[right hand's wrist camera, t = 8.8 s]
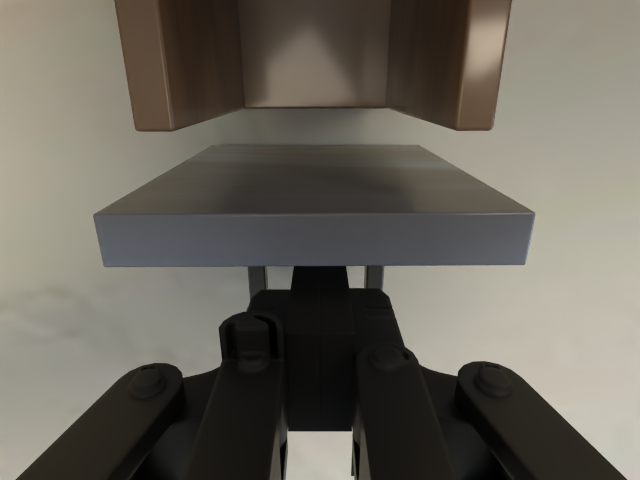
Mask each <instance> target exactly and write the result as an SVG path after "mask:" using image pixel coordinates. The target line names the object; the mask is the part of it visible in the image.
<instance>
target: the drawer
mask: <svg viewBox="0 0 640 480" xmlns="http://www.w3.org/2000/svg"><path fill="white" fill-rule="evenodd" d="M114 1H115V7H116V13H117V19H118V26H119V32H120V38H121V44H122V50H123V57H124V63H125V69H126V75H127V81H128V87H129V94H130V100H131V106H132V112H133V118H134V125H135V129H136V130H137V131H139V132H156V131H175V130H178V129H182V128H185V127H188V126H191V125H194V124H197V123H200V122H203V121H206V120H210V119H213V118H216V117H219V116H222V115H225V114H228V113H231V112H234V111H238V110H241V109H264V108H388V109H391V110H394V111H397V112H400V113H403V114H406V115H409V116H413V117H416V118H419V119H422V120H425V121H428V122H431V123H434V124H437V125H440V126H444V127H447V128H450V129H453V130H456V131H489V130H491V129H492V128H493V124H494V118H495V111H496V104H497V97H498V91H499V84H500V77H501V71H502V64H503V57H504V50H505V44H506V37H507V30H508V24H509V17H510V10H511V3H512V0H114ZM93 218H94V222H95V227H96V232H97V236H98V241H99V246H100V250H101V255H102V260H103V264H104V267H218V266H248V277H249V291H250V300H251V298H252V297H253V296H254V295H255V294H256V293H258V292H259V291H260V290H268V277H267V266H365V278H364V288H379V289H381V290H382V291H383V276H384V266H411V265H525V263H526V258H527V253H528V248H529V243H530V239H531V234H532V229H533V224H534V219H535V212H533V211H531V210H530V209H528V208H526V207H524V206H523V205H521V204H519V203H518V202H516V201H514V200H512V199H511V198H509V197H507V196H506V195H504V194H502V193H500V192H499V191H497V190H495V189H494V188H492V187H490V186H488V185H487V184H485V183H483V182H481V181H480V180H478V179H476V178H475V177H473V176H471V175H469V174H468V173H466V172H464V171H463V170H461V169H459V168H457V167H456V166H454V165H452V164H450V163H449V162H447V161H445V160H444V159H442V158H440V157H438V156H437V155H435V154H433V153H432V152H430V151H428V150H426V149H425V148H423V147H421V146H420V145H231V146H210V147H209V148H207V149H205V150H204V151H202V152H200V153H198V154H197V155H195V156H193V157H191V158H190V159H188V160H186V161H185V162H183V163H181V164H179V165H178V166H176V167H174V168H173V169H171V170H169V171H167V172H166V173H164V174H162V175H160V176H159V177H157V178H155V179H154V180H152V181H150V182H148V183H147V184H145V185H143V186H142V187H140V188H138V189H136V190H135V191H133V192H131V193H129V194H128V195H126V196H124V197H123V198H121V199H119V200H117V201H116V202H114V203H112V204H111V205H109V206H107V207H105V208H104V209H102V210H100V211H98V212H97V213H95V214H94V215H93ZM247 310H248V308H247ZM246 312H247V311H246Z"/></svg>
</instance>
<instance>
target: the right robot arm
mask: <svg viewBox="0 0 640 480" xmlns="http://www.w3.org/2000/svg"><path fill="white" fill-rule="evenodd" d="M219 335H220V344H221V353H222V363H221V366H220V367H218V368H216V369H214V370H212V371H209V372H206V373H203V374H199V375H194V376H190V377H185V378H183V377H182V372H181V371H180V370H179V369H178V368H177V367H176V366H173V365H170V364H167V363H153V364H148V365H144V366H141V367H138V368H136V369H134V370H131V371H129V372H128V373H127V374H125V375H124V376H122V377H121V378H120V379H119V380H118V381H116V382H115V383H114V384H113V385H112V386H111V387H110V388H109V389H108V390H107V391H106V392H105V393H104V394H103V395H102V396H101V397H100V398H99V399H98V400H97V401H96V402H95V403H94V404H93V405H92V406H91V407H90V408H89V409H88V410H87V411H86V412H85V413H84V414H83V415H82V416H81V417H80V418H79V419H77V420H76V421H75V422H74V423H73V424H72V425H71V426H70V427H69V428H68V429H67V430H66V431H65V432H64V433H63V434H62V435H61V436H60V437H59V438H58V439H57V440H56V441H55V442H54V443H53V444H52V445H51V446H50V447H49V448H48V449H47V450H46V451H45V452H44V453H43V454H42V455H41V456H40V457H38V458H37V459H36V460H35V461H34V462H33V463H32V464H31V465H30V466H29V467H28V468H27V469H26V470H25V471H24V472H23V473H22V474H21V475H20V476H19V477H18V478H17V479H16V480H285V479H286V467H287V455H288V444H287V430H288V431H352V428H353V444H352V469H351V476H354V478H355V480H627V479H626V478H625V477H624V476H623V475H622V474H621V473H620V472H619V471H618V470H617V469H616V468H615V467H614V466H613V465H612V464H611V463H609V462H608V461H607V460H606V459H605V458H604V457H603V456H602V455H601V454H600V453H599V452H598V451H597V450H596V449H595V448H594V447H593V446H592V445H591V444H590V443H589V442H588V441H587V440H586V439H585V438H584V437H583V436H582V435H581V434H580V433H578V432H577V431H576V430H575V429H574V428H573V427H572V426H571V425H570V424H569V423H568V422H567V421H566V420H565V419H564V418H563V417H562V416H561V415H560V414H559V413H558V412H557V411H556V410H555V409H554V408H553V407H552V406H551V405H550V404H548V403H547V402H546V401H545V400H544V399H543V398H542V397H541V396H540V395H539V394H538V393H537V392H536V391H535V390H534V389H533V388H532V387H531V386H530V385H529V384H528V383H527V382H526V381H525V380H524V379H523V378H522V377H520V376H519V375H518V374H516V373H515V372H513V371H512V370H511V369H508V368H506V367H504V366H501V365H499V364H495V363H491V362H486V361H480V362H471V363H468V364H465V365H463V367H462V368H461V369H460V370H459V371H458V376H453V375H449V374H444V373H440V372H436V371H433V370H430V369H427V368H425V367H423V366H421V365H419V362H418V360H417V358H416V357H415V355H414V354H413V352H411V351H410V350H408V349H407V348H406V347H405V346H404V342H403V339H402V336H401V333H400V330H399V327H398V324H397V321H396V318H395V314H394V311H393V309H392V305H391V302H390V299H389V297H388V296H387V295H386V294H385V293H384V292H383V291H382V290H381V289H379V288H349V284H348V277H347V270H346V266H294V270H293V277H292V284H291V290H260V291H259V292H258V293H256V294H255V295H254V296H253V297H252V298H251V300H250V303H249V307H248V310H247V312H242V313H238V314H235V315H232V316H231V317H229V318H228V319H226V320H224V321H223V323H222V324H221V325H220V327H219Z"/></svg>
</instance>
